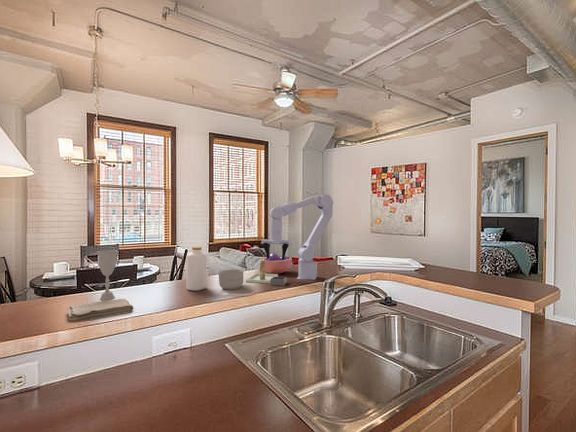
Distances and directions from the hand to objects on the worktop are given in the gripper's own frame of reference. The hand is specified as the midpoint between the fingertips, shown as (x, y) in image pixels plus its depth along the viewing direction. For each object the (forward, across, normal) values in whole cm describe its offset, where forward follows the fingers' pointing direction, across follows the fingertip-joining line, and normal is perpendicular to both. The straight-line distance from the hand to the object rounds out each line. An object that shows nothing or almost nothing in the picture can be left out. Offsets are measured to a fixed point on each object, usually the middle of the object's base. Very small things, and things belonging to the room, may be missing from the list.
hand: (275, 258), depth 154 cm
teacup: (+11, -14, -21) cm, 27 cm away
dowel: (+10, -6, -3) cm, 12 cm away
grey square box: (+10, +4, -11) cm, 16 cm away
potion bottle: (+11, -29, -26) cm, 40 cm away
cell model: (+11, -3, +16) cm, 20 cm away
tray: (+10, -6, -3) cm, 12 cm away
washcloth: (+12, -45, -61) cm, 77 cm away
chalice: (+11, -55, -47) cm, 73 cm away
